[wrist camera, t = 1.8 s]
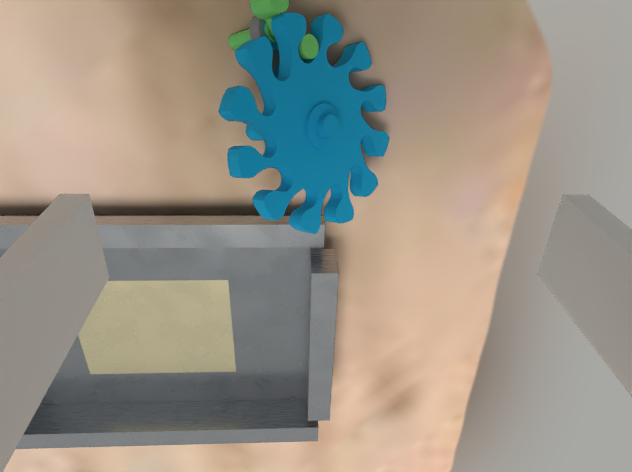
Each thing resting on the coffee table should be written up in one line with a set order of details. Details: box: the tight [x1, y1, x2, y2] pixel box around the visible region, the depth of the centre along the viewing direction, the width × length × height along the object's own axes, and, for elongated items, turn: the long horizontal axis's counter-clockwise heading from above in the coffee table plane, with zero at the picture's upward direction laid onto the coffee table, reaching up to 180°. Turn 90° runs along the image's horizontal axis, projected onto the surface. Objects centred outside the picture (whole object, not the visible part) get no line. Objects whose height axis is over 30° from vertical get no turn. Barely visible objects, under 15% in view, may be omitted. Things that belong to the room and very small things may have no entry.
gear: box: [219, 0, 389, 234], centre depth 24 cm, size 11×6×10 cm
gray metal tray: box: [0, 215, 339, 449], centre depth 31 cm, size 17×23×4 cm
